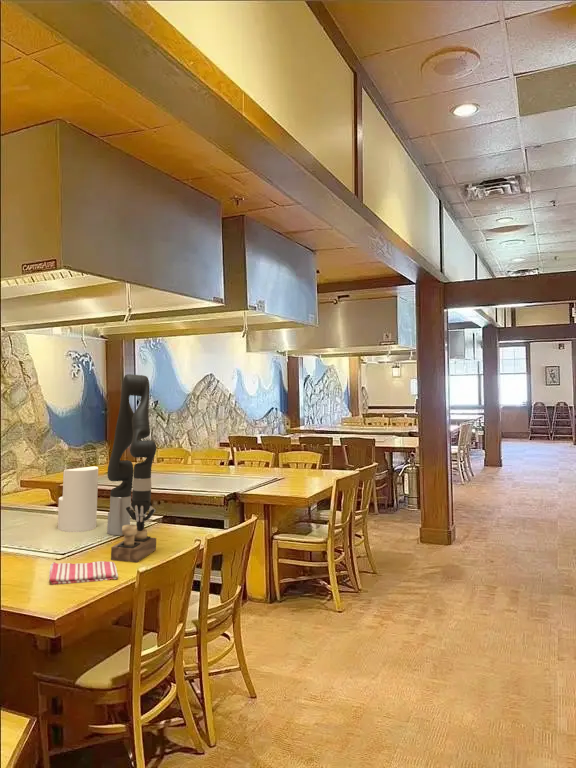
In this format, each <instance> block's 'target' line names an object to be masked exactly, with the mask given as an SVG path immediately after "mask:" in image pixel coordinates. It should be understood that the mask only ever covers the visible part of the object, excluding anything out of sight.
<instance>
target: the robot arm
mask: <svg viewBox="0 0 576 768" xmlns="http://www.w3.org/2000/svg"><path fill="white" fill-rule="evenodd" d="M130 396H131V397H135V396H136V397H141V398H140V403H139V405H138V407H137V408H136V410H135V411H133V409H132V406H131V403H130ZM149 409H150V381H149V377H148V376H146V375H143V374H141V375H140V374H129V373H128V374H127V373H126V374H125V375H124V377H123V379H122V383H121V394H120V402H119V409H118V415H117V421H116V426H115V430H114V438H113V445H112V451H111V454H110V458H109V461H108V465H107V478H108V481H110V482H121V483H120V484H119V485H117V486H115V487H113V488H112V489H110V494H109V495H110V499H109V502H110V503H109V512H107V524H106V525H107V526H106V527H107V528H106V529H107V530H106V531H107V532H106V534H109V535H110V536H111V535H112V536H123V535H122V526H124V525H131V519H132V520H134V521H136V526H137V529H138V531H142V530H143V529H145V522H147V521H148V520H150V518H152V516H153V515H154V514H155V513H156V512H157V509H156V508H154V507H153V506H152V503H151V499H152V465H153V462H154V458H155V456H156V452H157V444H156V442H155V441H154V440H150V439H149V440H146V438H148V437H149V436H151V435H150V434H151V428H150V427H151V426H150V418H149V413H150V412H149ZM143 439H145V440H143ZM128 448H129V453H130V455H131V457H132V458H145V459H144V461H142V462H138V463H135V464H133V462H132V461H131V460H129V459H128V460H121V459H122V456H123V454H124V453H125V451H126V450H127V449H128ZM147 512H148V513H147Z"/></svg>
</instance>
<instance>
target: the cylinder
mask: <svg viewBox="0 0 576 768" xmlns="http://www.w3.org/2000/svg"><path fill="white" fill-rule="evenodd" d="M62 479H63V480H62V482H63V483H62V496H60V497H58V509H57V510H58V511H57V529H58V530H59V531H61V532H69V533H70V532H71V533H73V532H74V533H76V532H77V533H78V532H79V533H81V532H87V531H92V530H94V529H96V528H97V520H98V519H97V518H98V517H97V512H98V488H99V487H98V486H99V467H98V466H95V465H93V466H84V467H75V468H69V469H64V470H63V477H62Z"/></svg>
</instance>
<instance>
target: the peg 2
mask: <svg viewBox="0 0 576 768" xmlns="http://www.w3.org/2000/svg"><path fill="white" fill-rule="evenodd" d="M147 536H148V529H146V528H144V529H143V530H142V531H138V529H137V534H136V535H135V537H134V539H139V540H144V539H146V538H147Z"/></svg>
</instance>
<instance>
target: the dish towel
mask: <svg viewBox="0 0 576 768" xmlns="http://www.w3.org/2000/svg"><path fill="white" fill-rule="evenodd" d="M48 573H49V575H48V582H50V583H51V585H68V584H80V583H90V582H104V581H103V580H107V581H111V580H110V579H114V580H117V579H118V578H119V574H118V569H117V566H116V564H115V562H114V561H105V560H103V561H102V560H101V561H92V562H86V563H83V562H82V563H79V562H77V563H68V562H65V563H61V562H59V563H58V562H57V563H56V562H53V561H52V563H51V564H50V567H49V572H48Z"/></svg>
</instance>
